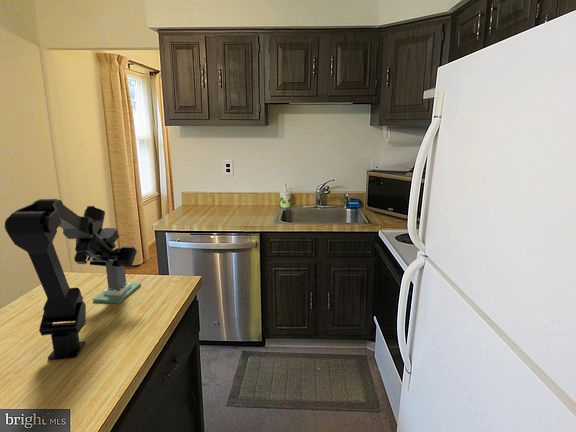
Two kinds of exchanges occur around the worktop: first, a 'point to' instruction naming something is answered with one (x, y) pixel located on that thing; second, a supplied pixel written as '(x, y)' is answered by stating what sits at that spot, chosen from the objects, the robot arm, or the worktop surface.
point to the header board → (117, 293)
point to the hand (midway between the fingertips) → (117, 265)
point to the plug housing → (115, 275)
